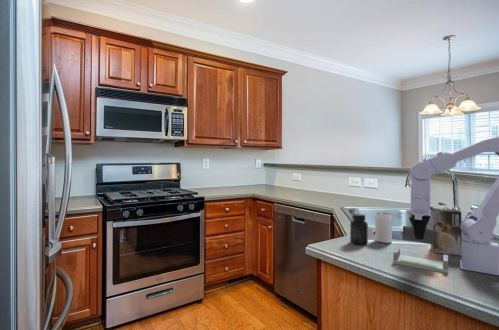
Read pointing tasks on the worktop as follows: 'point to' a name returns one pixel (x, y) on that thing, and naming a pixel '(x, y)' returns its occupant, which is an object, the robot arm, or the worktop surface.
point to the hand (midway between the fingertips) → (420, 237)
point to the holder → (421, 262)
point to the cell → (429, 238)
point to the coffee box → (447, 231)
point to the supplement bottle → (359, 230)
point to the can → (383, 227)
